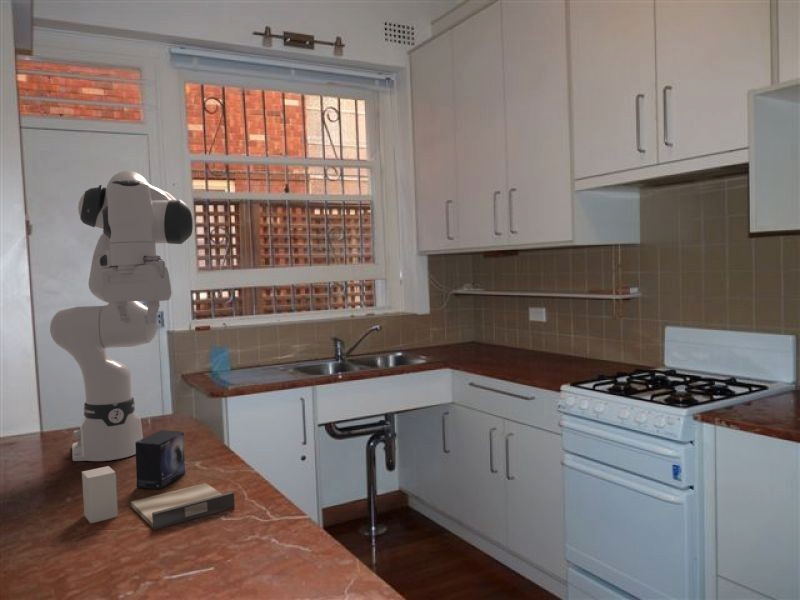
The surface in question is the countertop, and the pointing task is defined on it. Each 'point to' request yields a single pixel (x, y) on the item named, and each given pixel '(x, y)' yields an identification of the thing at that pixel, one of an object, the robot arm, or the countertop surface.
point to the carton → (100, 494)
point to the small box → (160, 459)
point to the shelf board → (182, 505)
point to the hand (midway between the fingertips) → (137, 323)
